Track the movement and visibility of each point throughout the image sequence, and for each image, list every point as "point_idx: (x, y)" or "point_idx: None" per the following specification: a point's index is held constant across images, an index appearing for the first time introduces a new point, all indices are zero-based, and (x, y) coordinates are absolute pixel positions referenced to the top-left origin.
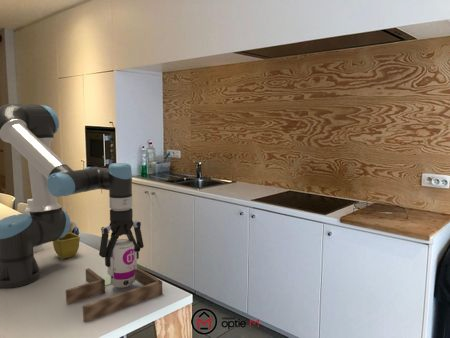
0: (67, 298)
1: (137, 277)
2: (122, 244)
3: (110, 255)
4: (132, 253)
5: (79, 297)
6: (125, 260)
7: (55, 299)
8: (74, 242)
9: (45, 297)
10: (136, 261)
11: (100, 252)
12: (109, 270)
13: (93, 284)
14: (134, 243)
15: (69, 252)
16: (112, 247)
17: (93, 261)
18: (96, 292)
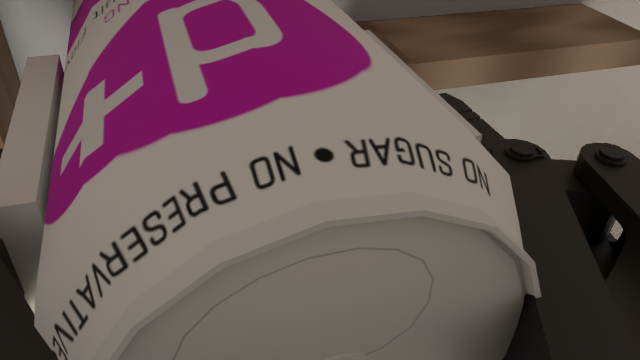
0: (610, 18)
1: (11, 86)
2: (393, 289)
3: (506, 162)
4: (141, 87)
5: (531, 16)
6: (298, 7)
7: (570, 109)
8: None
9: (577, 157)
10: (20, 109)
11: (617, 241)
12: None
13: (473, 52)
14: (11, 355)
15: None
16: (556, 256)
17: None
18: (416, 26)
